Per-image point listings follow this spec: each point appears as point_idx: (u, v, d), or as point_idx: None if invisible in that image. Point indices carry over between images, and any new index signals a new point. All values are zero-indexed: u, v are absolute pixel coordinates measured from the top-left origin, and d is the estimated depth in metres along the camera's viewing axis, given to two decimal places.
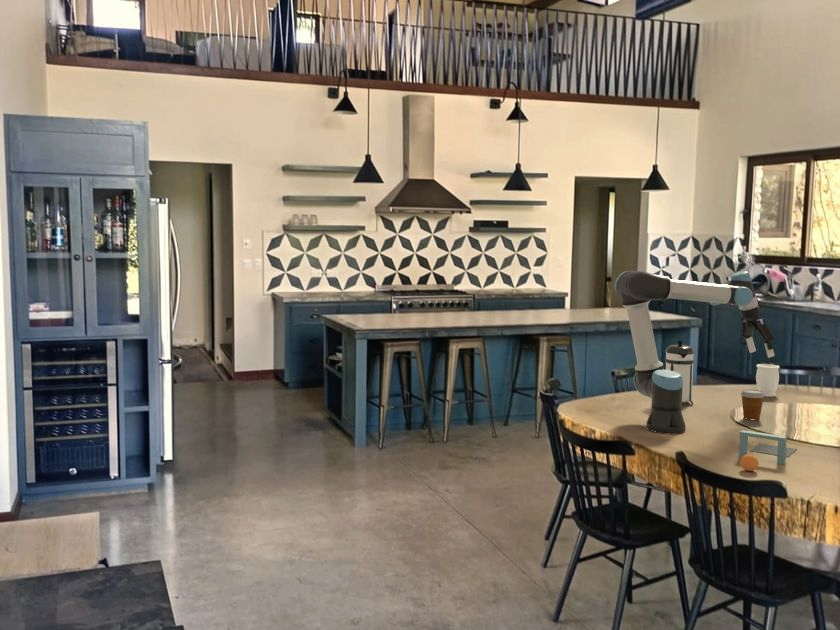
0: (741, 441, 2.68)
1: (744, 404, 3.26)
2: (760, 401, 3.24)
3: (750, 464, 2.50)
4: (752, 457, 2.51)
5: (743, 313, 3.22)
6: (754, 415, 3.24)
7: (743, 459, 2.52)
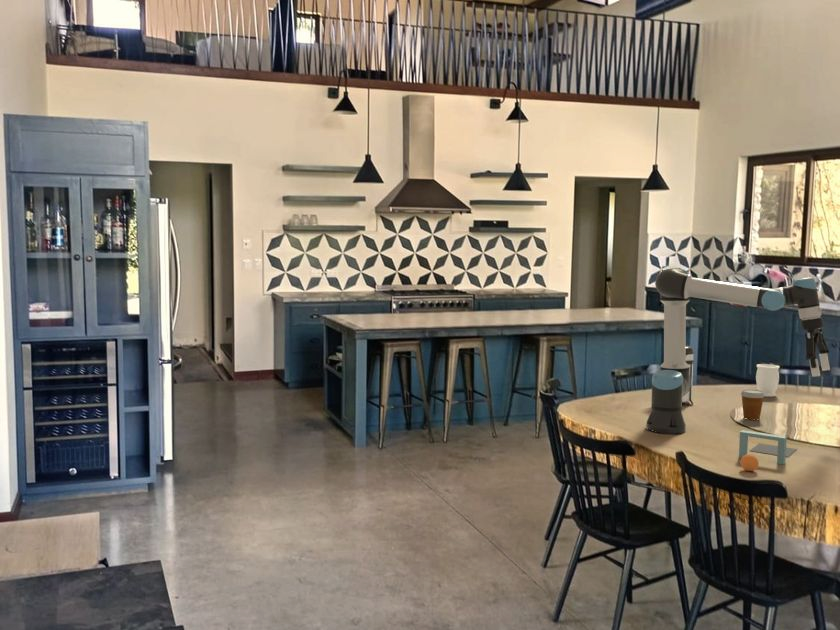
0: (741, 441, 2.68)
1: (744, 404, 3.26)
2: (760, 401, 3.24)
3: (750, 464, 2.50)
4: (752, 457, 2.51)
5: None
6: (754, 415, 3.24)
7: (743, 459, 2.52)
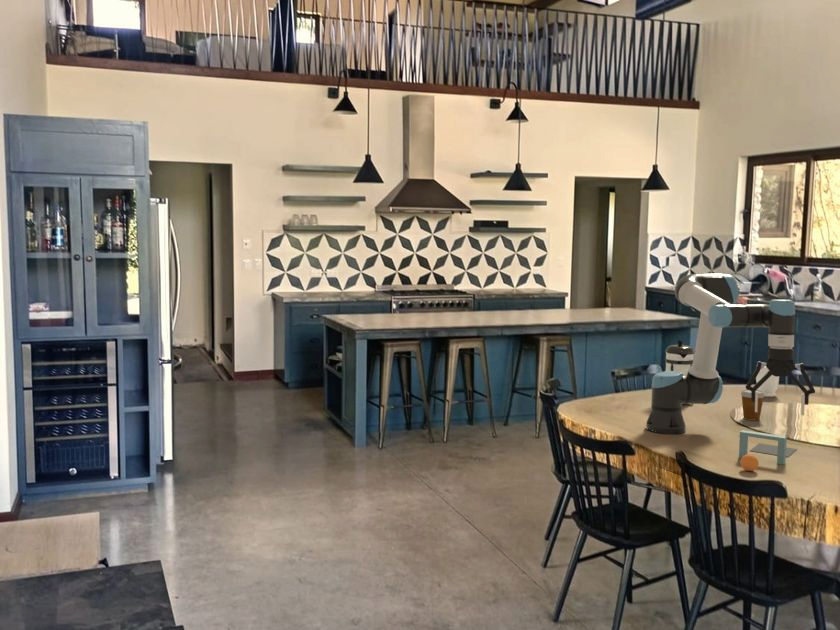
0: (741, 441, 2.68)
1: (744, 404, 3.26)
2: (760, 401, 3.24)
3: (750, 464, 2.50)
4: (752, 457, 2.51)
5: None
6: (754, 415, 3.24)
7: (743, 459, 2.52)
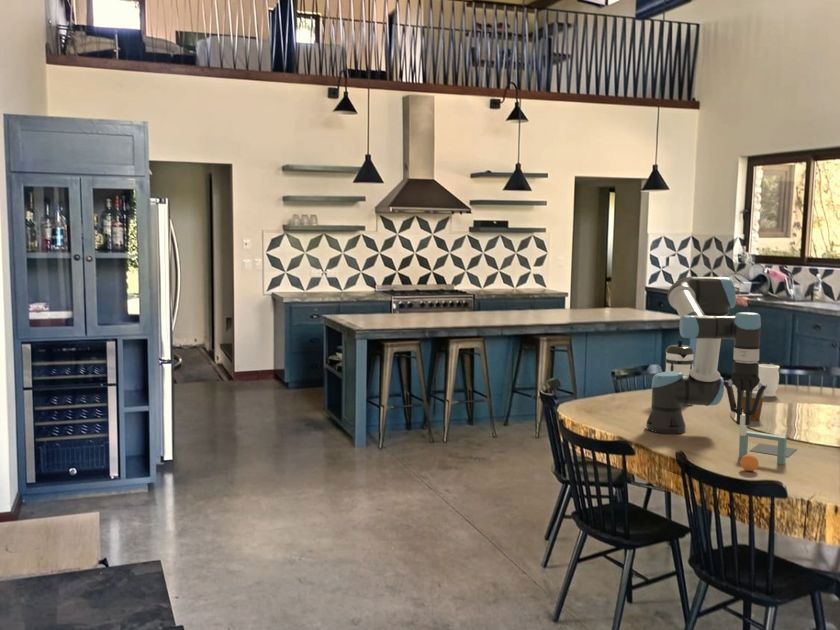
0: (741, 441, 2.68)
1: (744, 404, 3.26)
2: (760, 401, 3.24)
3: (750, 464, 2.50)
4: (752, 457, 2.51)
5: None
6: (754, 415, 3.24)
7: (743, 459, 2.52)
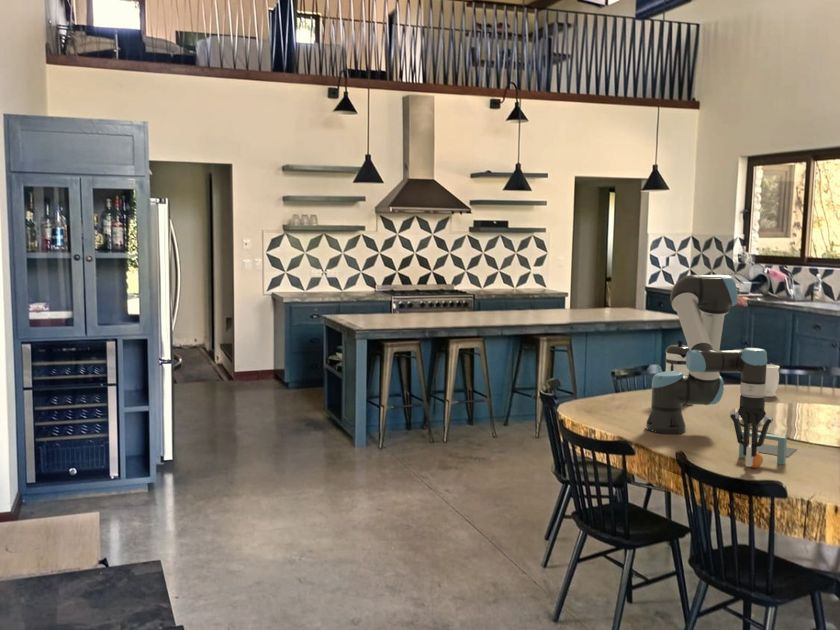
0: None
1: None
2: None
3: (757, 453, 2.55)
4: None
5: None
6: None
7: None
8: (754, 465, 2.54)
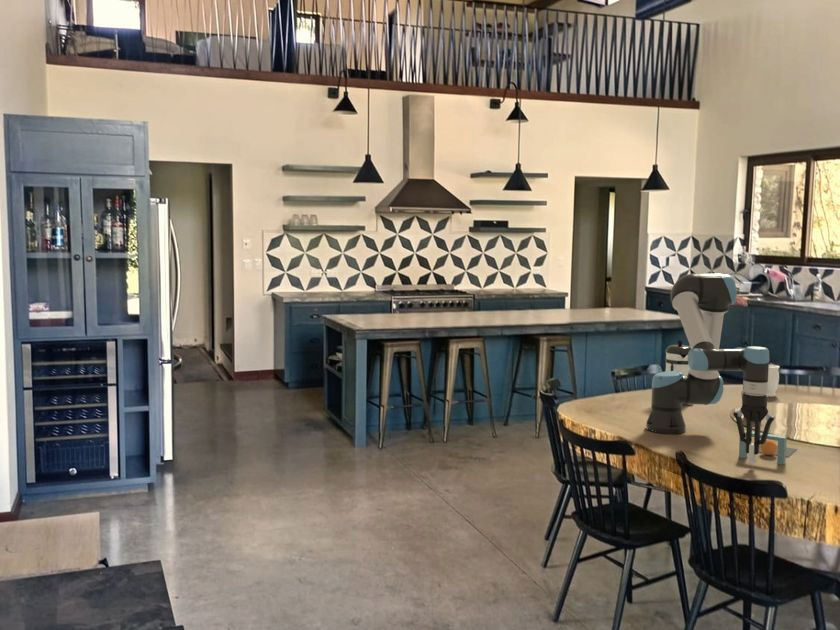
0: (741, 441, 2.68)
1: None
2: None
3: (773, 441, 2.72)
4: None
5: None
6: None
7: None
8: (769, 448, 2.69)
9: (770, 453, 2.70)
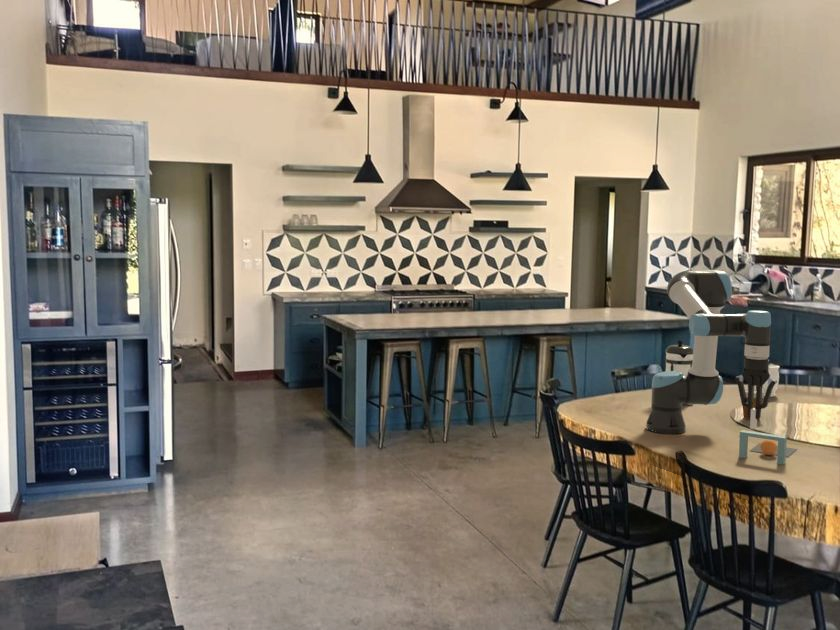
0: (741, 441, 2.68)
1: None
2: None
3: (773, 441, 2.72)
4: None
5: None
6: None
7: None
8: (769, 448, 2.69)
9: (770, 453, 2.70)
